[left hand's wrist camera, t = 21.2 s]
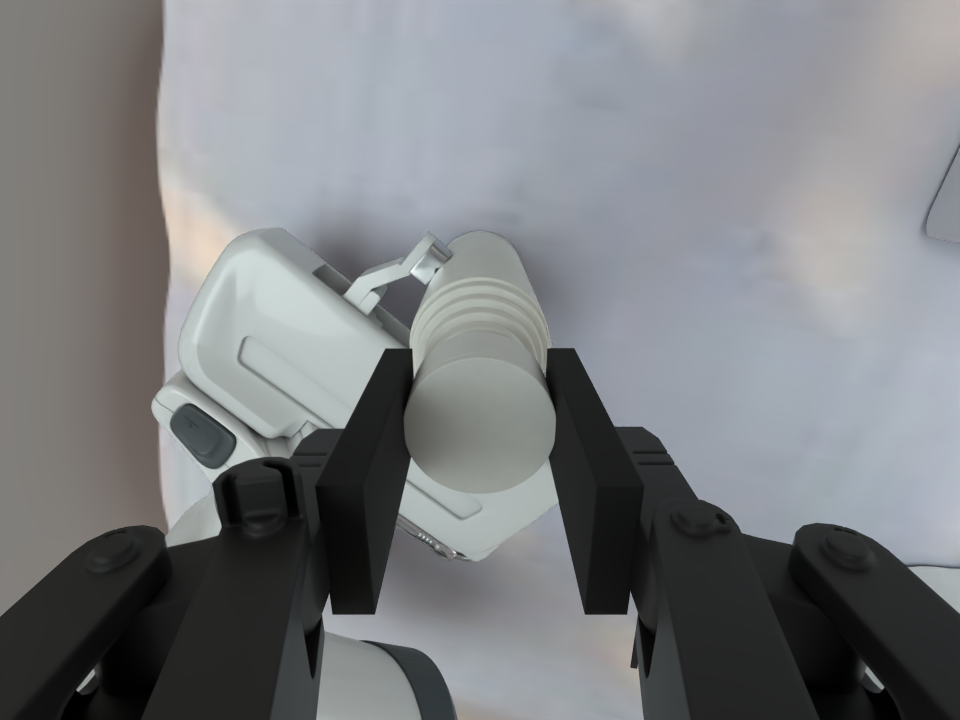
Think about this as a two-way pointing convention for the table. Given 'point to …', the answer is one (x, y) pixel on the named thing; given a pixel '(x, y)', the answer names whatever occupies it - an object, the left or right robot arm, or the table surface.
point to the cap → (479, 414)
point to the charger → (947, 207)
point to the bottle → (480, 298)
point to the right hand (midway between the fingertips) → (491, 287)
